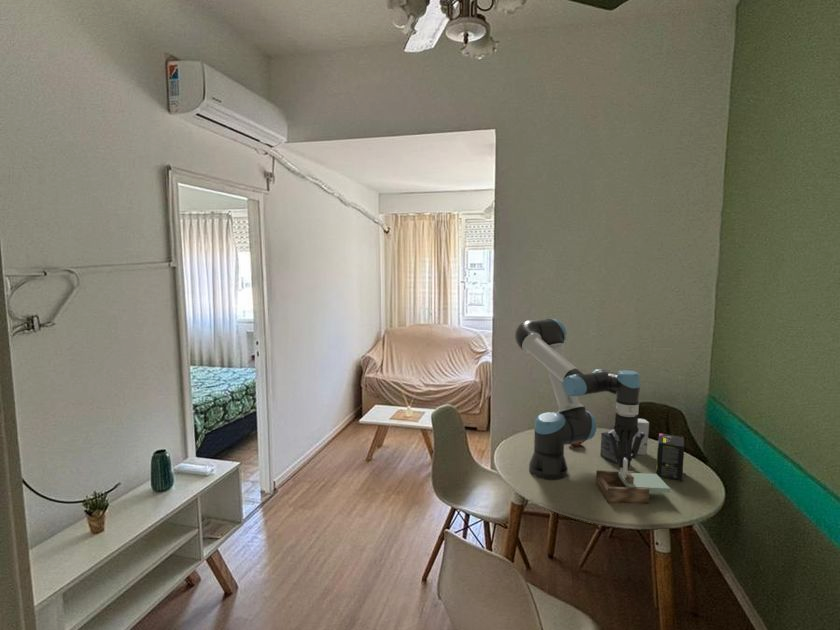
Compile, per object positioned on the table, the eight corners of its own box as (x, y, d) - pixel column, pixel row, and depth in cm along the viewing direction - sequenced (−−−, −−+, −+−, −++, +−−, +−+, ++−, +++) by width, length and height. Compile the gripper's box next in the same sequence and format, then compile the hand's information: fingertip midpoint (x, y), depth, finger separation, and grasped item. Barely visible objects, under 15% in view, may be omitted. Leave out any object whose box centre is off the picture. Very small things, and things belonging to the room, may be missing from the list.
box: (608, 502, 169) (608, 488, 169) (595, 483, 183) (596, 470, 183) (648, 503, 169) (649, 489, 168) (632, 484, 183) (633, 471, 182)
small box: (629, 463, 202) (631, 439, 200) (617, 465, 199) (618, 441, 198) (611, 453, 211) (612, 430, 210) (599, 455, 209) (600, 432, 208)
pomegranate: (563, 448, 222) (574, 442, 214) (560, 433, 226) (570, 426, 217) (578, 449, 224) (589, 443, 215) (575, 433, 227) (585, 427, 219)
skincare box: (628, 454, 210) (629, 422, 208) (623, 448, 216) (625, 417, 214) (647, 455, 209) (649, 422, 207) (642, 449, 215) (644, 417, 213)
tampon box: (656, 466, 199) (658, 432, 197) (681, 470, 194) (684, 436, 192) (655, 477, 189) (657, 441, 187) (682, 482, 185) (684, 446, 183)
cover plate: (629, 490, 170) (630, 480, 169) (618, 476, 181) (619, 466, 180) (669, 492, 169) (670, 481, 169) (656, 477, 180) (656, 467, 180)
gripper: (611, 416, 169) (608, 480, 172) (649, 417, 168) (645, 481, 171) (605, 410, 176) (602, 470, 179) (641, 410, 175) (637, 471, 178)
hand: (623, 475), depth 175 cm, fingers closed
